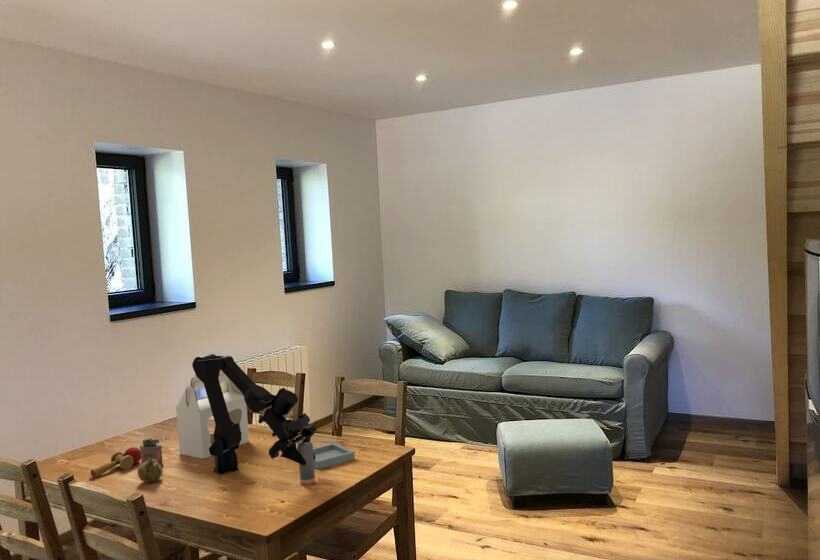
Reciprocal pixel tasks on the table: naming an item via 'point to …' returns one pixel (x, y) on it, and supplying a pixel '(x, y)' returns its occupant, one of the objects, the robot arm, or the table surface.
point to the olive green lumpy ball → (150, 471)
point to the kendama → (119, 461)
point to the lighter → (151, 451)
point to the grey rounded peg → (308, 470)
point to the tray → (331, 455)
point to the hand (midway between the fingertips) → (310, 462)
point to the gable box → (207, 417)
